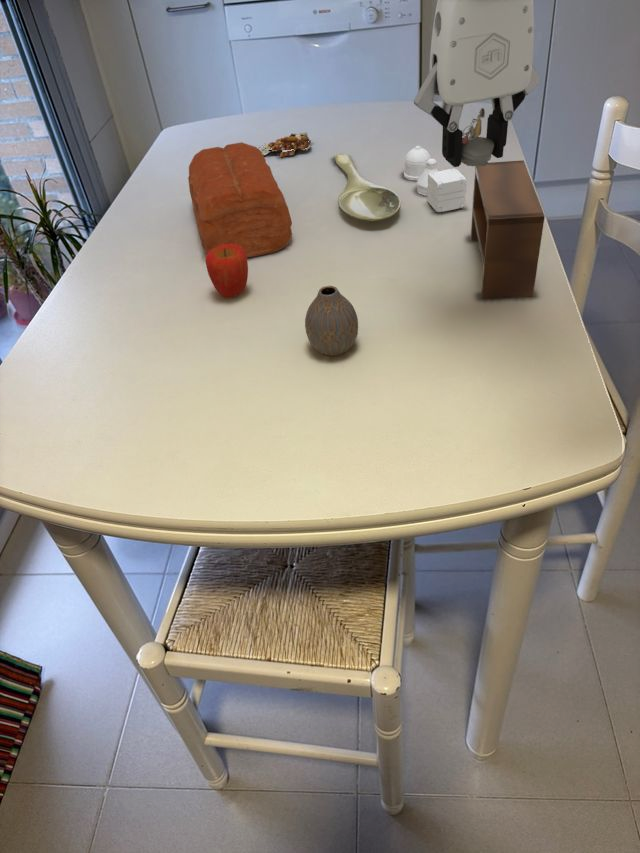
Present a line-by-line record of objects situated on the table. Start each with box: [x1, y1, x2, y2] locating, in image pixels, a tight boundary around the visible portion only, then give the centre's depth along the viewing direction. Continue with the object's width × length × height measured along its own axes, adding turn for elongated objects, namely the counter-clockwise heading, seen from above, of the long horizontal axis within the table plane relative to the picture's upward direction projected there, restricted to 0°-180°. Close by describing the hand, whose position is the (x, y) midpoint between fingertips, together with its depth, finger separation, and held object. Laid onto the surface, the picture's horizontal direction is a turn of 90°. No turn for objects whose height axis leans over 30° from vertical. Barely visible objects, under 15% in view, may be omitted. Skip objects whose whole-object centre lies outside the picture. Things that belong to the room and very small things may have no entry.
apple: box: [205, 244, 249, 299], centre depth 97 cm, size 6×6×8 cm
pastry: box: [257, 131, 313, 159], centre depth 138 cm, size 7×12×4 cm, turn 96°
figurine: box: [460, 107, 494, 167], centre depth 74 cm, size 5×4×6 cm
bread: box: [187, 141, 293, 259], centre depth 113 cm, size 16×27×11 cm, turn 14°
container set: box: [403, 145, 467, 213], centre depth 117 cm, size 20×5×6 cm, turn 13°
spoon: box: [333, 153, 402, 222], centre depth 121 cm, size 35×11×2 cm, turn 10°
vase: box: [304, 285, 359, 357], centre depth 84 cm, size 7×7×9 cm
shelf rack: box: [470, 160, 546, 299], centre depth 94 cm, size 7×18×12 cm, turn 176°
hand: (473, 156), depth 75 cm, fingers closed on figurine, 4 cm apart
